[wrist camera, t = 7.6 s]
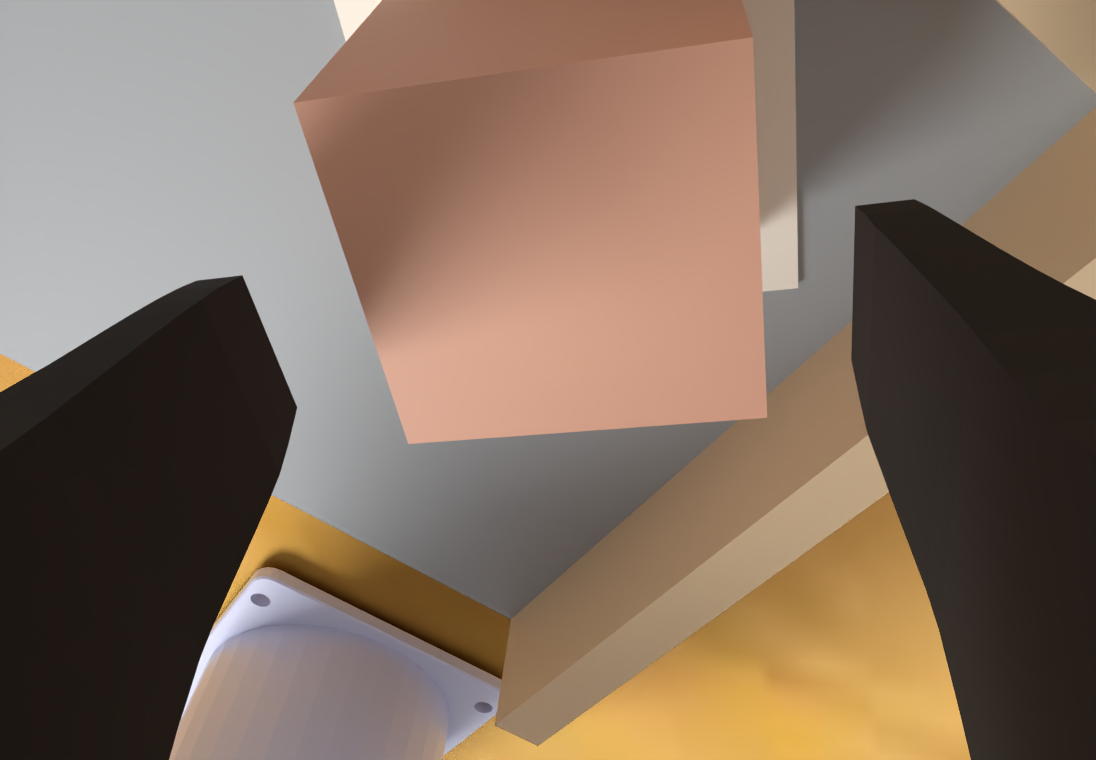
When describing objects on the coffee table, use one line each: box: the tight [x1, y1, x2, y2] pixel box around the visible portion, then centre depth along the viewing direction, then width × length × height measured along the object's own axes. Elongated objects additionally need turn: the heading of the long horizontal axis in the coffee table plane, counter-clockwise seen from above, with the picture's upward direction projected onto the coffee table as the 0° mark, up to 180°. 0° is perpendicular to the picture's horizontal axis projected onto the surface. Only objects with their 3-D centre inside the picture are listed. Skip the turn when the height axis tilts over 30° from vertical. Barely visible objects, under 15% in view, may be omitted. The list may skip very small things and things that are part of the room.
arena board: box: [0, 0, 1096, 746], centre depth 15 cm, size 18×24×4 cm
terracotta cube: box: [293, 0, 767, 444], centre depth 13 cm, size 5×5×5 cm
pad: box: [334, 0, 798, 292], centre depth 15 cm, size 7×7×1 cm
